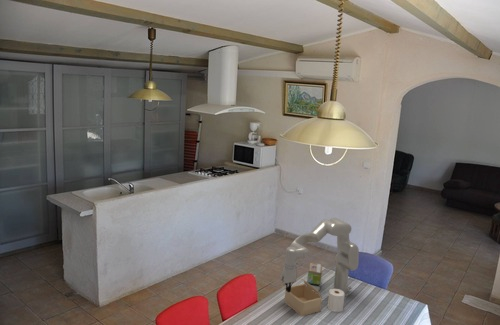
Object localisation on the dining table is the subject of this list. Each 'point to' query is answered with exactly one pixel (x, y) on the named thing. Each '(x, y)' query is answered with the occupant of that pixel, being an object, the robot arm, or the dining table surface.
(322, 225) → the robot arm
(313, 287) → the flap
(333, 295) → the toilet paper
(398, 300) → the dining table surface
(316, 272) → the tea box
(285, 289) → the flap
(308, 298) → the carton
